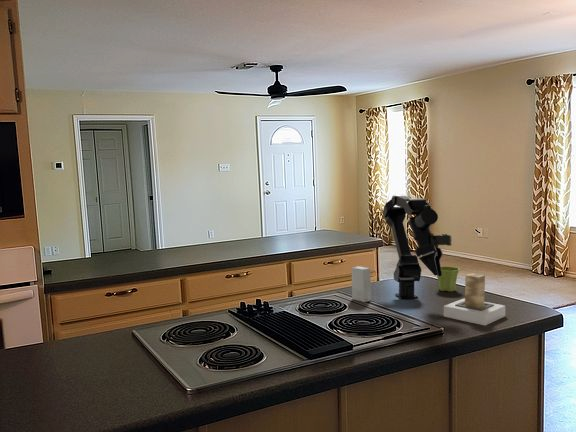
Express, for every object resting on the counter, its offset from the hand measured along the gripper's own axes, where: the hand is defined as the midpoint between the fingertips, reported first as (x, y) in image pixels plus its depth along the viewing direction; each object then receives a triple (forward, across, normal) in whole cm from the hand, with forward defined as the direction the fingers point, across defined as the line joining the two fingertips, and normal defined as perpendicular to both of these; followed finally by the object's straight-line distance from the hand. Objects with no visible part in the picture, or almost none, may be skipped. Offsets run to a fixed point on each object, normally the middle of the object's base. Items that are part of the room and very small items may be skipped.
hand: (438, 275), depth 173 cm
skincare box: (-1, +6, +30) cm, 31 cm away
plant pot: (+4, +33, +3) cm, 33 cm away
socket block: (+16, 0, -6) cm, 17 cm away
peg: (+16, 0, -6) cm, 17 cm away
